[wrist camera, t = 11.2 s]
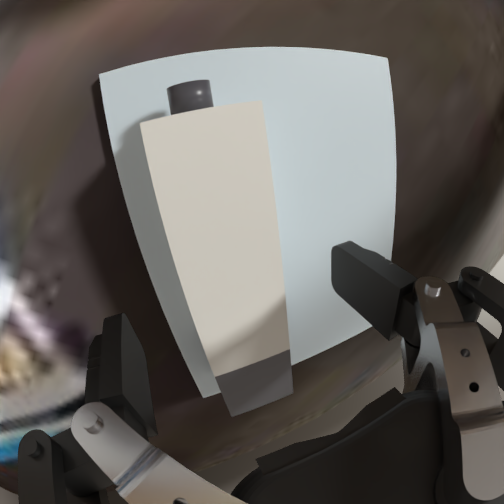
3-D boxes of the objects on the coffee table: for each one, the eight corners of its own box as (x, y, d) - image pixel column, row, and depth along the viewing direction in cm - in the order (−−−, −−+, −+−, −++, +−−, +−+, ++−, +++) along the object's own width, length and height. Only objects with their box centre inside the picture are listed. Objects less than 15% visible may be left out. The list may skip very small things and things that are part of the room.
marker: (137, 101, 9) (133, 88, 6) (224, 84, 10) (257, 67, 7) (213, 371, 15) (231, 417, 12) (267, 352, 16) (293, 393, 13)
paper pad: (382, 58, 12) (387, 58, 11) (378, 318, 20) (381, 320, 20) (100, 76, 8) (99, 74, 8) (201, 393, 16) (203, 398, 16)
